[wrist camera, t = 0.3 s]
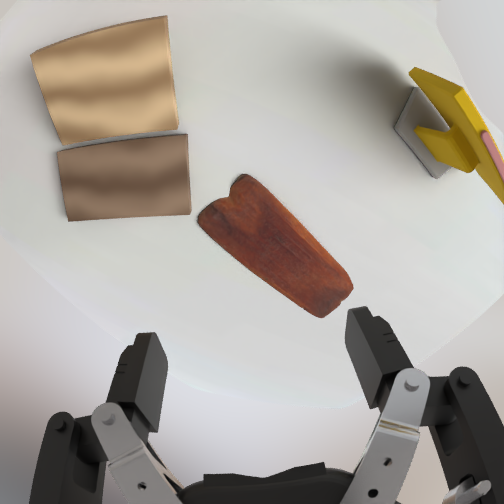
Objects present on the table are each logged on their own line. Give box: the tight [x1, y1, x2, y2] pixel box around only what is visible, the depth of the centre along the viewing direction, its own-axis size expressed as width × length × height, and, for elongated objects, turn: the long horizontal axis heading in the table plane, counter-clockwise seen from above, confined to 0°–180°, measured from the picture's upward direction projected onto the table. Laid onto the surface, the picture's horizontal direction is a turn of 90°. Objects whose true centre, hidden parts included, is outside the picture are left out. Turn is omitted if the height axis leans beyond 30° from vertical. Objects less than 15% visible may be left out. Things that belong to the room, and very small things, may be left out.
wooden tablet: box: [198, 174, 353, 318], centre depth 42 cm, size 27×10×2 cm, turn 45°
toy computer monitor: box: [394, 67, 504, 204], centre depth 27 cm, size 20×8×16 cm, turn 53°
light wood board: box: [30, 15, 179, 145], centre depth 26 cm, size 14×16×2 cm
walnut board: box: [57, 134, 191, 222], centre depth 34 cm, size 10×18×2 cm, turn 90°
